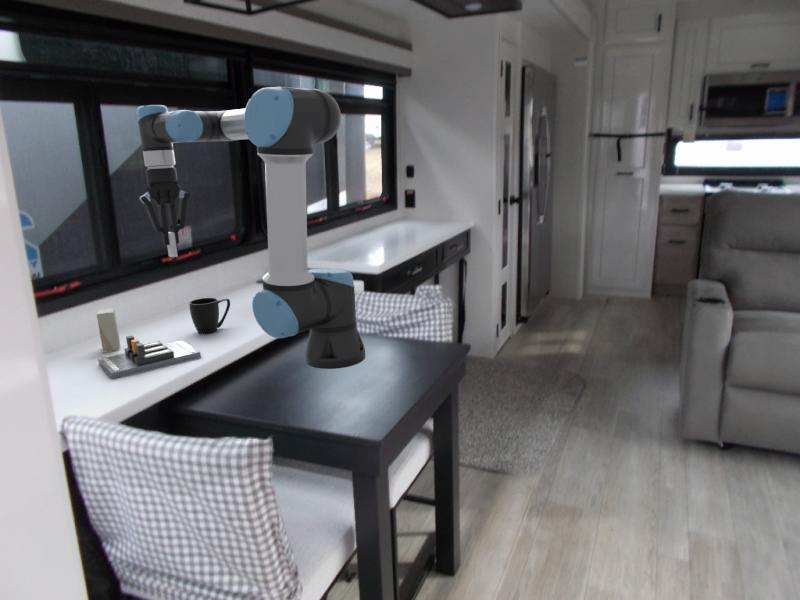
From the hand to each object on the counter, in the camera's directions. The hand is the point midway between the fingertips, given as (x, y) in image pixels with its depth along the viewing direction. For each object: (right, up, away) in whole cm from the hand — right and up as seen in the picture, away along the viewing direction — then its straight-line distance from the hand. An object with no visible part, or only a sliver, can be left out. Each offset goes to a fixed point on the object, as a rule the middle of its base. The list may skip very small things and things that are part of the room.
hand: (173, 256), depth 168 cm
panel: (-4, -28, -5) cm, 28 cm away
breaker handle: (-7, -25, -8) cm, 27 cm away
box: (-20, -26, +7) cm, 33 cm away
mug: (+5, -21, +20) cm, 30 cm away
